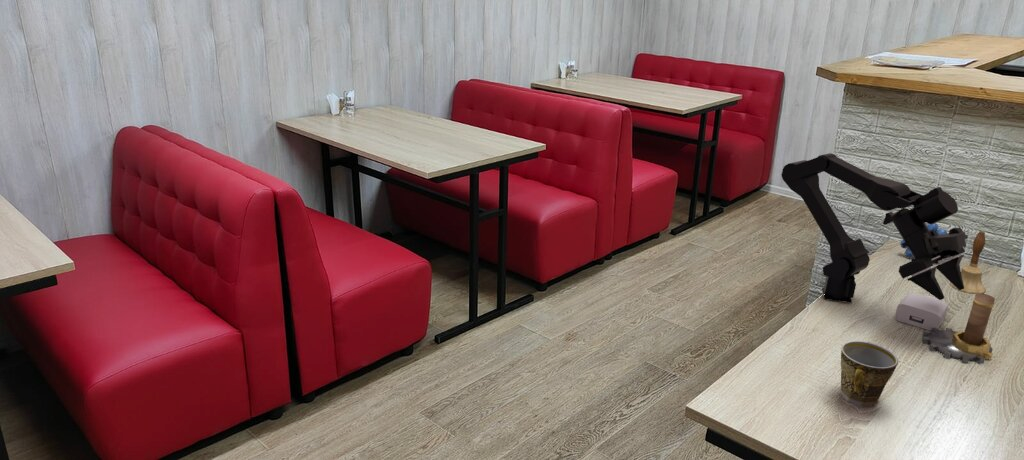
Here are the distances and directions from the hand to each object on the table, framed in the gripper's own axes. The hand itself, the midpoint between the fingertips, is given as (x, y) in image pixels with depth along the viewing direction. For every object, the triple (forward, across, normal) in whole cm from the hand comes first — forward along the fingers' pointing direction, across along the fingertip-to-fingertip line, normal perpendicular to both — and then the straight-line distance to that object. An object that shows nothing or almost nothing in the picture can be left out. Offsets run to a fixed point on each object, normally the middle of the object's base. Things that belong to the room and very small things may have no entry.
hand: (952, 294), depth 160 cm
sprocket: (+11, 0, +6) cm, 12 cm away
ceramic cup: (+11, -40, +6) cm, 41 cm away
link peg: (+12, 0, +3) cm, 12 cm away
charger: (+3, +9, +15) cm, 17 cm away
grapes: (-10, +44, +28) cm, 53 cm away
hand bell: (+2, +36, +16) cm, 39 cm away
